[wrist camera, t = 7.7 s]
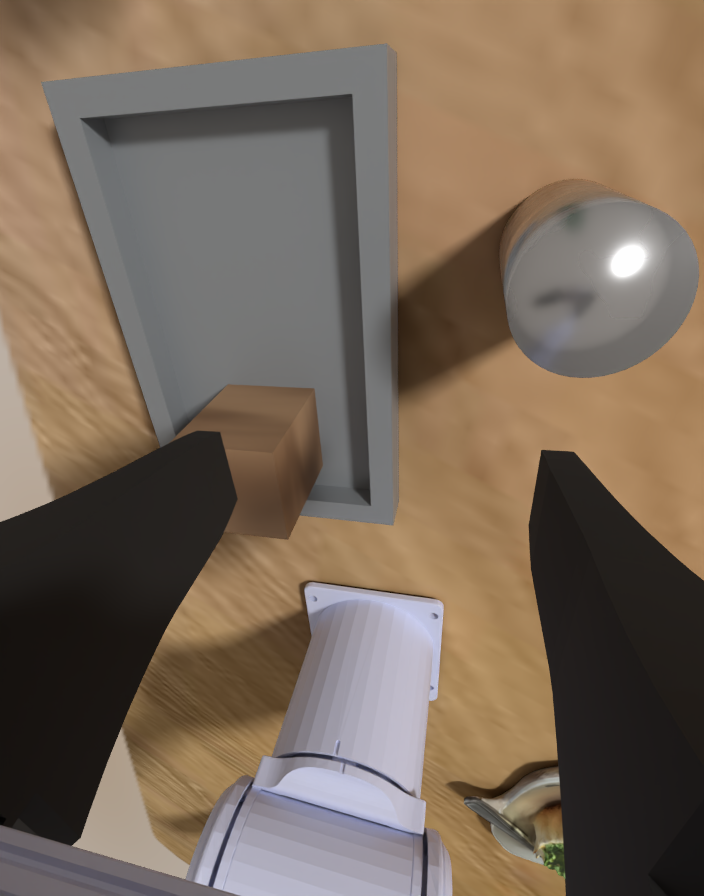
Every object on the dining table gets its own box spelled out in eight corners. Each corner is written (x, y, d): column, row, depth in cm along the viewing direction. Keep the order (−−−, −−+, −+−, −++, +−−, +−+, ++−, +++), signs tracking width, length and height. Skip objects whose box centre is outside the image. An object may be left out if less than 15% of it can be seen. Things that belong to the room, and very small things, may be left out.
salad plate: (432, 810, 42) (427, 876, 38) (519, 717, 32) (524, 796, 28) (647, 889, 41) (664, 965, 37) (810, 820, 31) (856, 916, 27)
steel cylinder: (612, 307, 17) (667, 380, 12) (493, 306, 17) (498, 374, 13) (643, 175, 14) (727, 197, 10) (505, 182, 15) (517, 205, 10)
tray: (398, 500, 23) (393, 525, 22) (195, 481, 26) (178, 502, 24) (396, 53, 14) (386, 43, 13) (80, 86, 16) (40, 81, 15)
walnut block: (323, 465, 22) (288, 539, 18) (244, 459, 23) (194, 528, 19) (314, 388, 20) (273, 453, 16) (228, 384, 21) (167, 444, 17)
